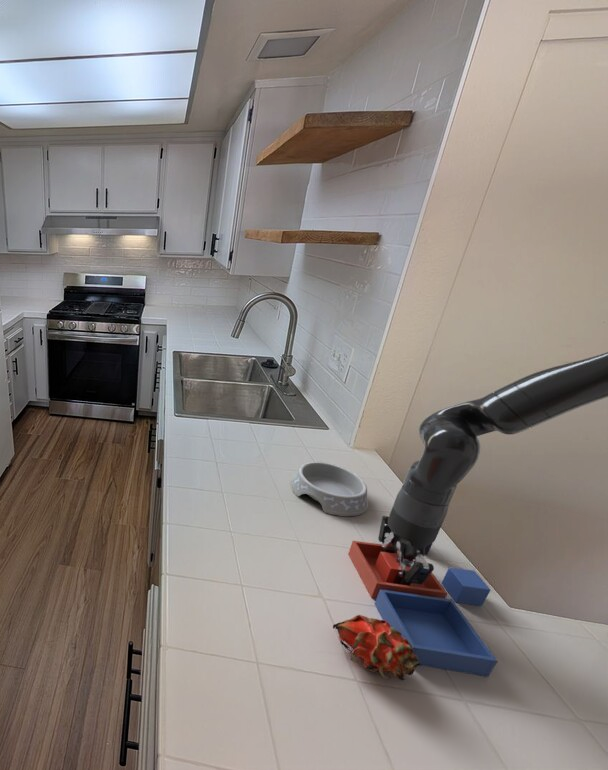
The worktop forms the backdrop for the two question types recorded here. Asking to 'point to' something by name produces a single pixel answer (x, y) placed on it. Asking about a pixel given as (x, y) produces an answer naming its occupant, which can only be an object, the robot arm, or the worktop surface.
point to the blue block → (465, 586)
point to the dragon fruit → (378, 646)
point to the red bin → (365, 563)
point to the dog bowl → (332, 488)
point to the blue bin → (436, 632)
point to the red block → (388, 566)
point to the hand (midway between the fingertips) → (391, 576)
